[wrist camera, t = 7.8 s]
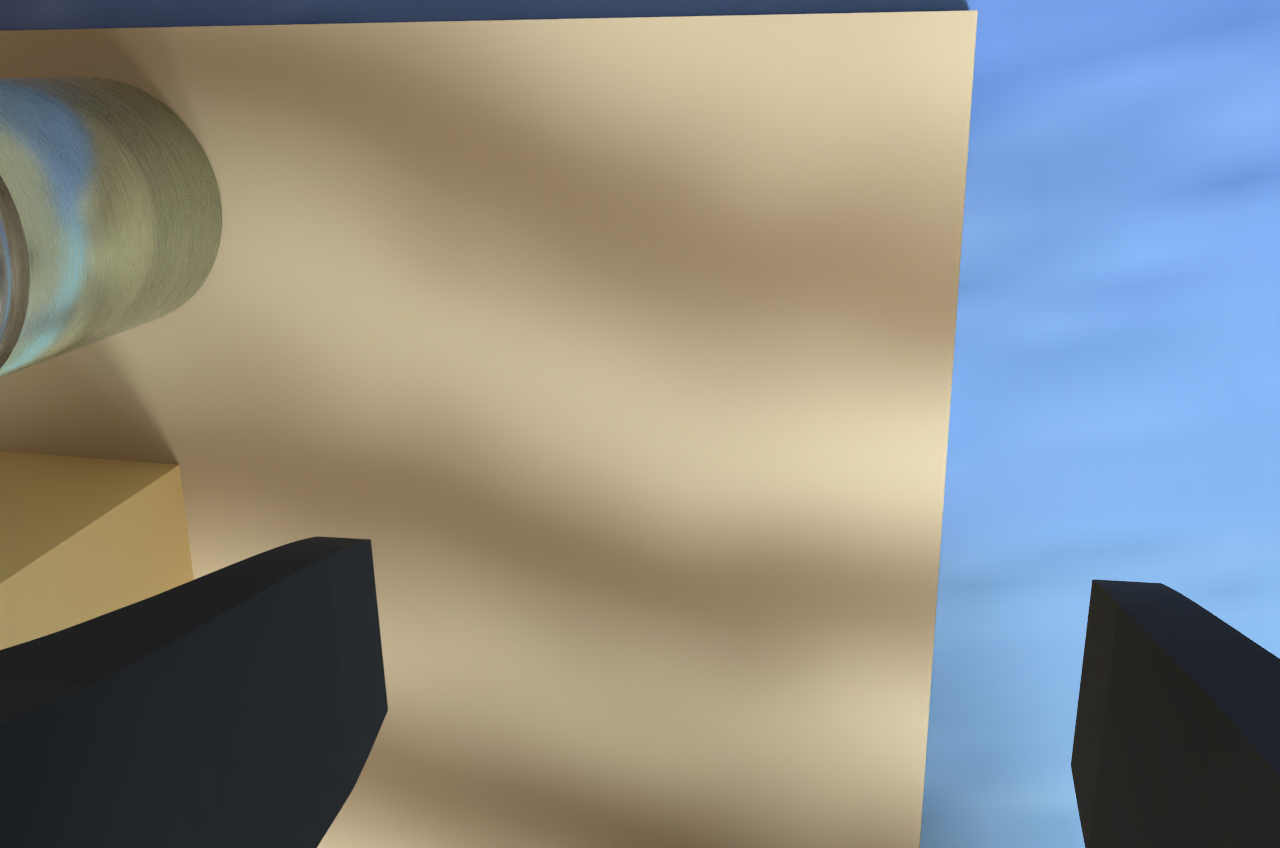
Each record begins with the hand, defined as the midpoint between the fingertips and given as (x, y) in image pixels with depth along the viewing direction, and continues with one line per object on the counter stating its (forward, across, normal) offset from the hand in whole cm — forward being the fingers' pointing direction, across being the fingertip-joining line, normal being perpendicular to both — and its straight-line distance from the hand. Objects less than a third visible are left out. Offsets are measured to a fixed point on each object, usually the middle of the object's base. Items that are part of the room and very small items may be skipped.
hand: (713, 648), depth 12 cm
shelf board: (+10, +8, +3) cm, 13 cm away
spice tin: (+9, +12, -3) cm, 15 cm away
